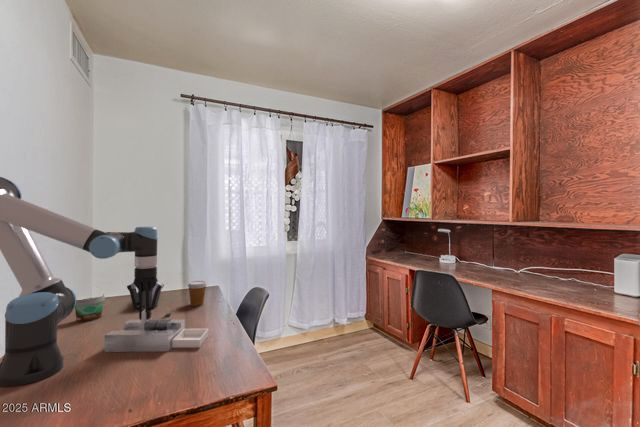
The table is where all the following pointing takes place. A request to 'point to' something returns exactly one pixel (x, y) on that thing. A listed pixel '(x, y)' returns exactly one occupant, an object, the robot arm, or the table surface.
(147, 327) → the dark gray cube
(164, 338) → the slot block
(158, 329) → the dark grey cube
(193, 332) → the tray
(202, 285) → the disposable coffee cup
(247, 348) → the table surface
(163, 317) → the tomahawk
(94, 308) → the food container
